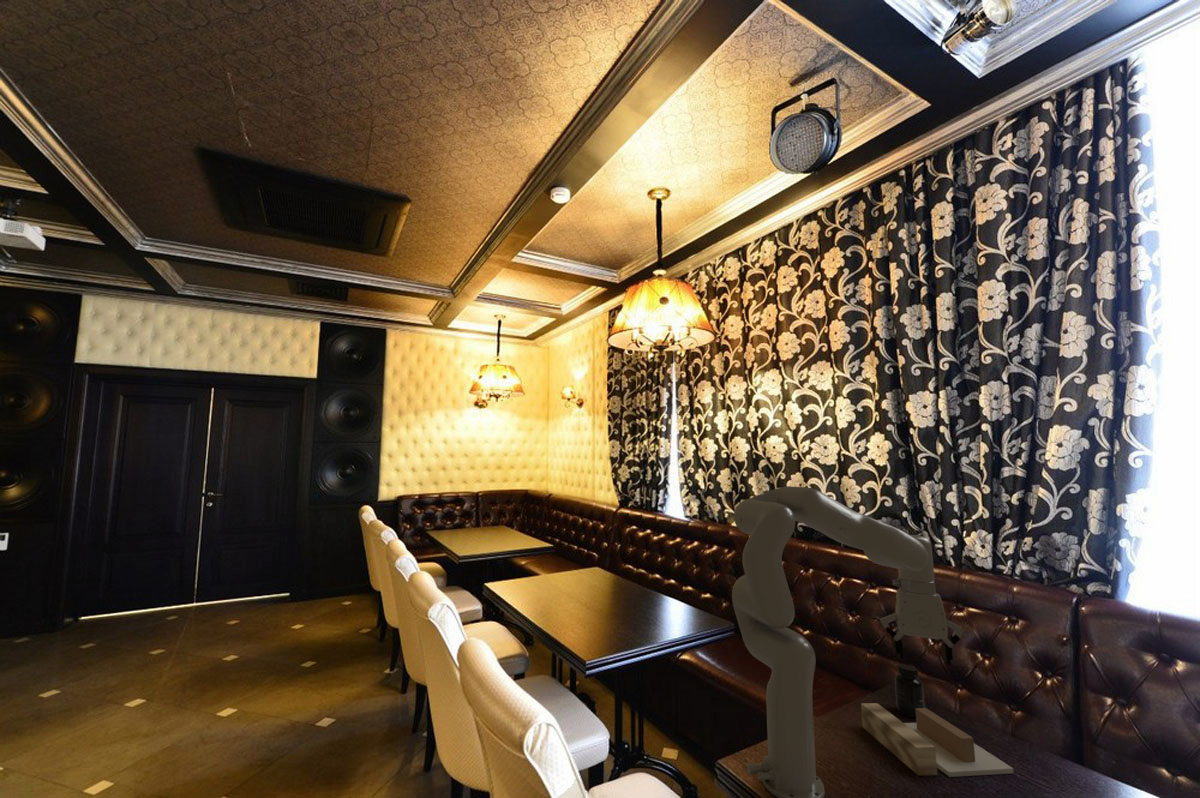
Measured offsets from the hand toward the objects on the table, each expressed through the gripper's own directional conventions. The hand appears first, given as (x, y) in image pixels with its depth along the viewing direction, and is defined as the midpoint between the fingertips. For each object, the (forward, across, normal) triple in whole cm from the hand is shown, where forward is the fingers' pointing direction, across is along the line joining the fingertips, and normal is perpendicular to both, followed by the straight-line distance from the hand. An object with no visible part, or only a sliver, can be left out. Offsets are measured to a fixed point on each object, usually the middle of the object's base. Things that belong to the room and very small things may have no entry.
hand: (923, 659), depth 115 cm
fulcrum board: (+22, +4, +6) cm, 23 cm away
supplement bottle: (+22, 0, +23) cm, 32 cm away
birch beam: (+22, -7, +1) cm, 23 cm away
